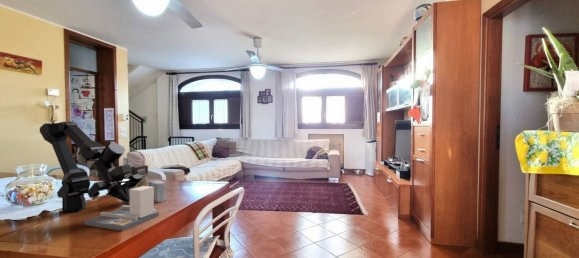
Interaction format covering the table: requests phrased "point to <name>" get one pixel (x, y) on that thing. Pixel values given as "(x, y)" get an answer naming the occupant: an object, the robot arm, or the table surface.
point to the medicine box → (159, 190)
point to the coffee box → (144, 174)
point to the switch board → (119, 219)
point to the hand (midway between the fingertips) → (128, 201)
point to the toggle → (141, 201)
